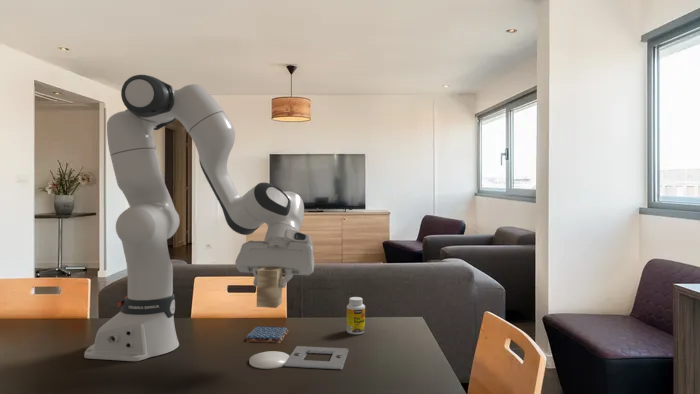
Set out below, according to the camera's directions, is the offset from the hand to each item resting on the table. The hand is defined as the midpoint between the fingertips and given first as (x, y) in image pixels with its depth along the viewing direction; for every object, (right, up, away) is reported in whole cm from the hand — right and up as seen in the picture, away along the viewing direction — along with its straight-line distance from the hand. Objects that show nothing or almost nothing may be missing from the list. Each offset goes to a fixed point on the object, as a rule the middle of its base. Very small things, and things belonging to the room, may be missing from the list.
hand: (269, 285), depth 109 cm
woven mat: (-4, -19, +20) cm, 28 cm away
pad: (0, -19, +1) cm, 19 cm away
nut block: (0, -5, +1) cm, 5 cm away
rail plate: (+12, -19, +2) cm, 23 cm away
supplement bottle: (+22, -19, +24) cm, 38 cm away
